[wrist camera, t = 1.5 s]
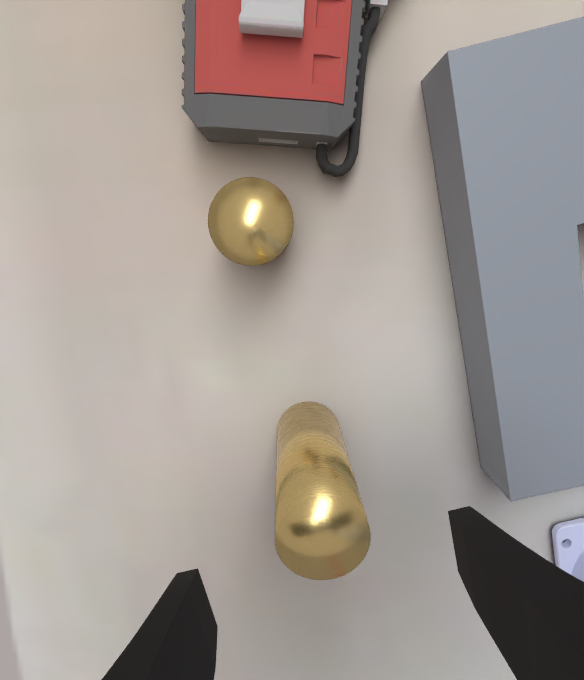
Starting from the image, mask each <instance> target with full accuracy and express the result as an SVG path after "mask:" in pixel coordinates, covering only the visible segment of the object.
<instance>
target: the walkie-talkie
mask: <svg viewBox="0 0 584 680" xmlns="http://www.w3.org/2000/svg"><path fill="white" fill-rule="evenodd" d="M387 3H388V0H185V4H183V5H182V10H183V12H184V14H185V21H184V22H182V27H183V30H184V32H185V38H184V39H182V45H183V47H184V49H185V55H184V56H182V62H183V64H184V72H183V73H182V79H183V80H184V89H182V95H183V96H184V105H182V108H183V110H184V111H185V112H186V114H187V115H188V116H189V117H190V119H191V120H192V121H193V123H194V124H195V125H196V126H197V128H198V129H199V130H200V131H201V133H202V134H203V135H204V136H205V138H206V139H207V140H208V141H215V142H229V143H242V144H256V145H270V146H284V147H298V148H312V149H317V152H316V158H317V162H318V165H319V167H320V169H321V170H322V171H323V172H324V173H326V174H329V175H332V176H335V177H338V176H343V175H344V174H346V173H347V172H348V171H349V170H350V169H351V168H352V166H353V165H354V162H355V160H356V157H357V154H358V147H359V136H360V125H361V114H362V103H363V91H364V80H365V69H366V61H367V53H368V44H369V39H370V37H371V35H372V34H373V32H374V30H375V28H376V26H377V24H378V20H379V19H381V18H382V16H383V14H384V11H385V9H386V7H387ZM363 12H365V18H368V22H367V23H366V25H365V27H364V29H363V30H362V27H363V24H364V19H363V18H362V14H363ZM361 30H362V32H361ZM360 32H361V35H360ZM349 129H350V131H349ZM348 131H349V143H348V152H347V156H346V159H345V161H344V163H343V164H342V165H339V166H337V165H334V164H331V163H330V162H329V161H328V159H327V154H326V150H331V149H332V148H333V147H334V146H335V145H336V144H337V143H338V142H339V141H340V140H341V139H342V138H343V137H344V136H345V135H346V134H347V133H348Z"/></svg>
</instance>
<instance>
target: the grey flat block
mask: <svg viewBox="0 0 584 680" xmlns="http://www.w3.org/2000/svg"><path fill="white" fill-rule="evenodd" d="M421 83H422V90H423V96H424V103H425V109H426V116H427V122H428V129H429V135H430V141H431V148H432V154H433V161H434V167H435V174H436V180H437V187H438V193H439V200H440V206H441V213H442V219H443V226H444V232H445V238H446V245H447V251H448V258H449V264H450V271H451V277H452V284H453V290H454V297H455V303H456V310H457V316H458V322H459V329H460V335H461V342H462V348H463V355H464V361H465V368H466V374H467V381H468V387H469V394H470V400H471V407H472V413H473V419H474V426H475V432H476V439H477V445H478V452H479V458H480V465H481V468H482V469H483V470H484V471H485V472H486V473H487V475H488V476H489V477H490V478H491V479H492V480H493V481H494V483H495V484H496V485H497V486H498V487H499V488H500V490H501V491H502V492H503V493H504V494H505V495H506V497H507V498H508V499H509V500H510V501H515V500H519V499H524V498H528V497H533V496H537V495H542V494H546V493H551V492H556V491H560V490H565V489H569V488H574V487H578V486H583V485H584V298H583V287H582V275H581V264H580V252H579V241H578V229H577V225H579V224H583V223H584V17H581V18H577V19H573V20H569V21H565V22H561V23H557V24H553V25H549V26H545V27H542V28H538V29H534V30H530V31H526V32H522V33H518V34H514V35H510V36H506V37H503V38H499V39H495V40H491V41H487V42H483V43H479V44H475V45H471V46H467V47H464V48H460V49H456V50H452V51H448V52H447V53H446V54H445V55H444V56H443V57H442V58H441V60H440V61H439V62H438V63H437V64H436V65H435V66H434V67H433V69H432V70H431V71H430V72H429V73H428V74H427V75H426V76H425V78H424V79H423V80H422V81H421Z"/></svg>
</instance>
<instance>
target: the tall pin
mask: <svg viewBox="0 0 584 680" xmlns="http://www.w3.org/2000/svg"><path fill="white" fill-rule="evenodd" d="M369 545H370V528H369V525H368V522H367V518H366V515H365V512H364V508H363V505H362V502H361V498H360V495H359V492H358V488H357V485H356V482H355V478H354V475H353V472H352V468H351V465H350V462H349V458H348V455H347V452H346V448H345V445H344V442H343V438H342V435H341V432H340V428H339V425H338V422H337V419H336V417H335V415H334V414H333V413H332V412H331V410H329V409H328V408H327V407H325V406H324V405H322V404H319V403H315V402H302V403H298V404H296V405H294V406H292V407H290V408H289V409H288V410H287V411H286V412H285V413H284V414H283V415H282V417H281V419H280V421H279V424H278V431H277V473H276V514H275V546H276V550H277V553H278V555H279V557H280V559H281V560H282V562H283V563H284V564H285V565H286V566H287V567H288V568H289V569H290V570H291V571H293V572H294V573H296V574H298V575H300V576H302V577H305V578H309V579H314V580H328V579H334V578H337V577H340V576H343V575H345V574H347V573H349V572H350V571H352V570H353V569H355V568H356V567H357V566H358V565H359V564H360V563H361V561H362V560H363V559H364V557H365V556H366V554H367V551H368V549H369Z"/></svg>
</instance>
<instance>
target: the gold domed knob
mask: <svg viewBox="0 0 584 680" xmlns="http://www.w3.org/2000/svg"><path fill="white" fill-rule="evenodd" d="M293 224H294V222H293V213H292V209H291V206H290V204H289V201H288V200H287V198H286V196H285V195H284V194H283V193H282V191H281V190H280V189H279V188H278V187H276V186H275V185H273V184H272V183H270V182H268V181H266V180H263V179H260V178H254V177H245V178H240V179H237V180H234V181H232V182H230V183H228V184H227V185H225V186H224V187H223V188H222V189H221V190H220V191H219V192H218V193H217V194H216V196H215V197H214V199H213V201H212V203H211V206H210V209H209V214H208V227H209V232H210V235H211V238H212V240H213V242H214V244H215V246H216V247H217V248H218V250H219V251H220V252H221V253H222V254H223V255H224V256H226V257H227V258H228V259H230V260H232V261H234V262H236V263H239V264H243V265H250V266H253V265H261V264H264V263H267V262H269V261H272V260H273V259H275V258H276V257H277V256H279V255H280V254H281V253H282V252H283V251H284V249H285V248H286V246H287V245H288V243H289V241H290V239H291V236H292V232H293Z"/></svg>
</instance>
